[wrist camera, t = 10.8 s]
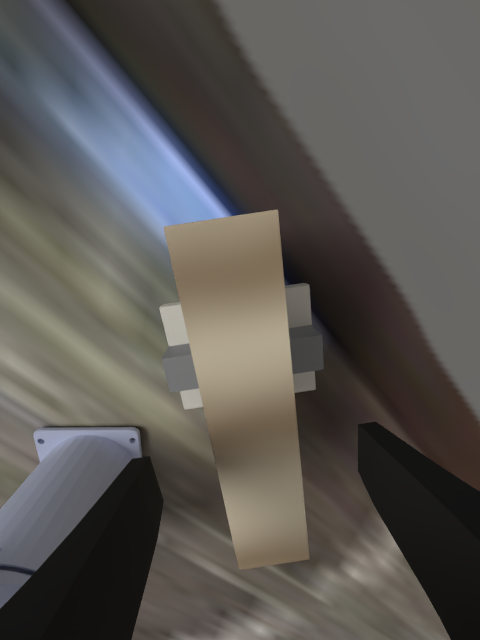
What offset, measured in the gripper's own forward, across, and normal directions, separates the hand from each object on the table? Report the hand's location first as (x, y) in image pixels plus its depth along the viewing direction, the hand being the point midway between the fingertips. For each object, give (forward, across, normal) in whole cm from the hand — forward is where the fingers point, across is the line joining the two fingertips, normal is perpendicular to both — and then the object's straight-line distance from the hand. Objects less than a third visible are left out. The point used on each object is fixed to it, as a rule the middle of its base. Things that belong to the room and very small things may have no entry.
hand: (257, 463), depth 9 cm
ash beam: (+7, 0, 0) cm, 7 cm away
